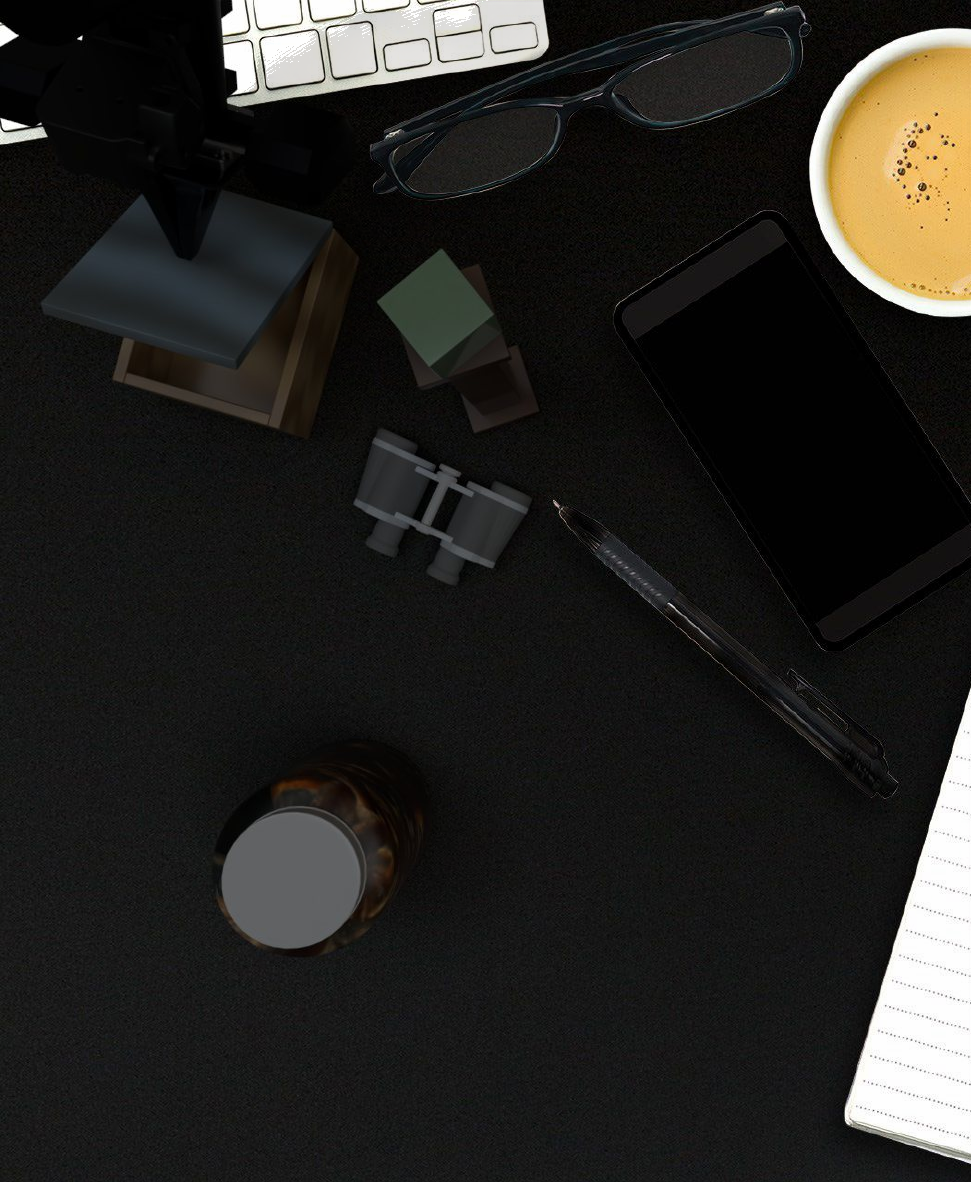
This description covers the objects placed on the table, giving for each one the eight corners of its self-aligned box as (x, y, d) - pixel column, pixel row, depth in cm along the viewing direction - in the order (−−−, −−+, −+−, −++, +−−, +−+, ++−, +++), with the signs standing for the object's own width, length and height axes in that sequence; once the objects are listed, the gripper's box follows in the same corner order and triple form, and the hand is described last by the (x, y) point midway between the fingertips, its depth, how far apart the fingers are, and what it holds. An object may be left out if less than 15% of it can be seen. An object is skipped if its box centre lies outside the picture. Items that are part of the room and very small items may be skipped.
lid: (237, 370, 60) (235, 360, 60) (43, 314, 60) (40, 302, 60) (333, 232, 69) (332, 221, 68) (163, 182, 69) (161, 171, 68)
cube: (393, 319, 54) (376, 301, 50) (454, 270, 54) (441, 247, 50) (442, 381, 54) (428, 367, 50) (503, 331, 54) (494, 314, 50)
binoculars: (535, 499, 76) (531, 496, 73) (488, 599, 77) (482, 601, 73) (384, 429, 76) (373, 423, 73) (339, 530, 77) (325, 529, 73)
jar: (296, 719, 77) (219, 759, 62) (450, 760, 77) (410, 810, 62) (257, 873, 78) (172, 950, 63) (410, 914, 78) (361, 1001, 63)
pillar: (453, 369, 76) (386, 295, 54) (518, 346, 76) (478, 262, 54) (475, 435, 76) (418, 388, 54) (541, 412, 76) (510, 356, 54)
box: (308, 440, 76) (278, 429, 70) (156, 395, 77) (111, 380, 70) (360, 257, 76) (334, 228, 69) (206, 212, 76) (165, 179, 69)
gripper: (-139, -31, 46) (-46, 280, 58) (269, 87, 46) (281, 376, 57) (12, -97, 54) (67, 190, 65) (362, 5, 53) (356, 274, 65)
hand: (187, 256), depth 63 cm, fingers closed
